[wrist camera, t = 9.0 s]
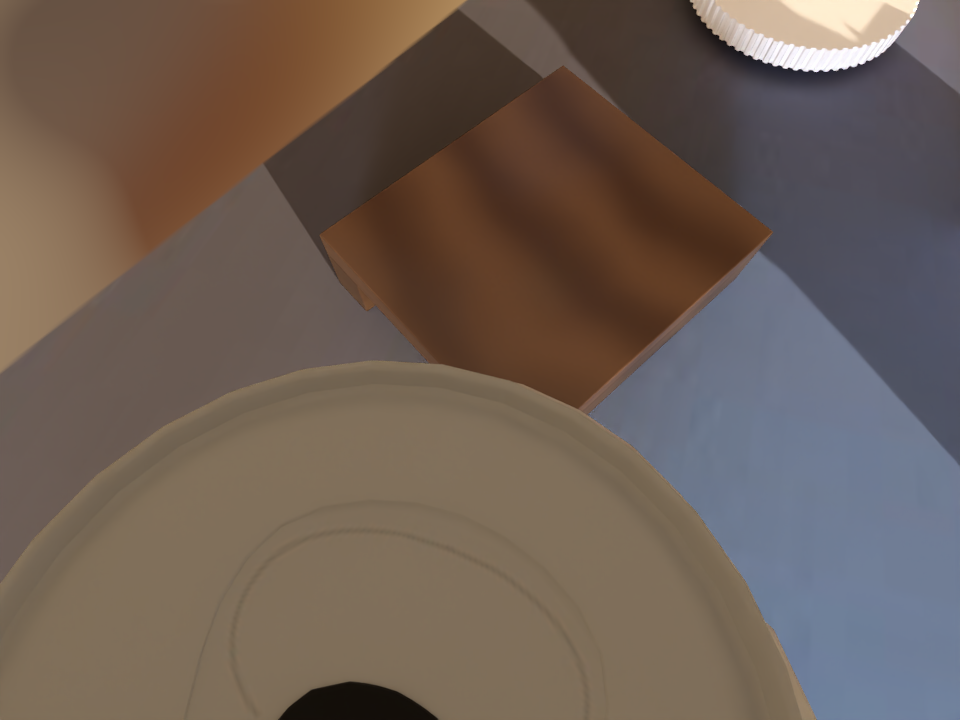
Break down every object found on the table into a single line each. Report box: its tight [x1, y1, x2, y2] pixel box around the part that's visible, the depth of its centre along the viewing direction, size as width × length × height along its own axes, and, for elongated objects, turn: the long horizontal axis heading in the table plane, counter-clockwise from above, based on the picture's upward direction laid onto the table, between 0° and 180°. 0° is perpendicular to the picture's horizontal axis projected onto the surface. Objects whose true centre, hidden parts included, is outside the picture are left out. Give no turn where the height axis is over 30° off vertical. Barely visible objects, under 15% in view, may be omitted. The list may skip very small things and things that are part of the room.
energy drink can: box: [0, 360, 802, 720], centre depth 10 cm, size 6×6×15 cm
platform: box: [320, 66, 773, 415], centre depth 30 cm, size 16×14×4 cm
